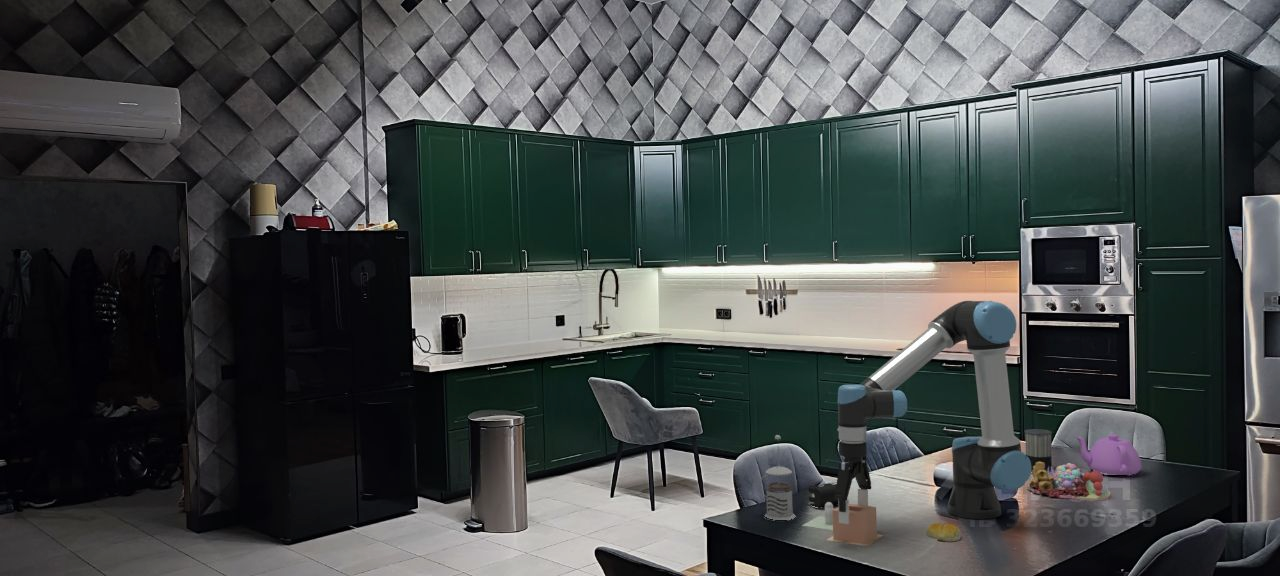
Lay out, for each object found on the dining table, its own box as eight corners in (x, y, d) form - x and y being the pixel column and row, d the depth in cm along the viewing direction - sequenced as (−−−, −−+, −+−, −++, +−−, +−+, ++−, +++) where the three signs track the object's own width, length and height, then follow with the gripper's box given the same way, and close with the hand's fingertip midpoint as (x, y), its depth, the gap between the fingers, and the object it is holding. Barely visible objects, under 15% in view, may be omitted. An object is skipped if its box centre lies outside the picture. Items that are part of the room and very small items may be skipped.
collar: (876, 535, 254) (876, 507, 254) (864, 543, 247) (863, 514, 246) (846, 531, 259) (845, 503, 259) (833, 539, 252) (832, 510, 252)
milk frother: (1057, 474, 326) (1056, 432, 326) (1013, 475, 326) (1011, 434, 326) (1040, 466, 340) (1039, 426, 340) (998, 467, 340) (997, 427, 340)
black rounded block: (821, 510, 285) (821, 489, 285) (807, 506, 292) (807, 484, 292) (846, 506, 290) (846, 485, 290) (832, 501, 296) (832, 481, 296)
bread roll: (930, 532, 258) (930, 518, 258) (963, 536, 254) (963, 522, 254) (922, 540, 251) (922, 525, 251) (956, 544, 247) (955, 529, 247)
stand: (884, 537, 254) (883, 517, 254) (867, 548, 244) (867, 527, 244) (843, 531, 261) (842, 511, 261) (826, 542, 251) (825, 521, 251)
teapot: (1065, 467, 338) (1064, 429, 338) (1127, 467, 335) (1126, 429, 335) (1085, 480, 316) (1084, 440, 316) (1152, 480, 313) (1151, 440, 313)
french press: (788, 522, 273) (786, 438, 273) (753, 517, 279) (750, 436, 279) (801, 514, 281) (799, 433, 281) (766, 510, 287) (764, 431, 287)
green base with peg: (856, 523, 269) (856, 500, 269) (840, 533, 260) (839, 509, 259) (819, 518, 276) (818, 495, 276) (801, 527, 267) (801, 504, 266)
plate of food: (1029, 499, 294) (1029, 470, 293) (1024, 483, 316) (1023, 456, 316) (1116, 502, 286) (1115, 473, 285) (1104, 486, 308) (1103, 458, 308)
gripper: (857, 433, 265) (858, 506, 265) (821, 446, 245) (822, 526, 245) (882, 435, 261) (883, 509, 261) (847, 449, 240) (848, 530, 240)
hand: (853, 517), depth 253 cm, fingers open, 13 cm apart
